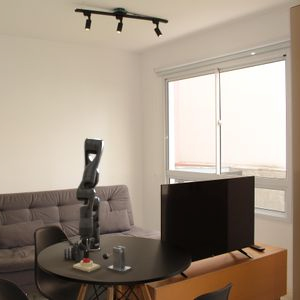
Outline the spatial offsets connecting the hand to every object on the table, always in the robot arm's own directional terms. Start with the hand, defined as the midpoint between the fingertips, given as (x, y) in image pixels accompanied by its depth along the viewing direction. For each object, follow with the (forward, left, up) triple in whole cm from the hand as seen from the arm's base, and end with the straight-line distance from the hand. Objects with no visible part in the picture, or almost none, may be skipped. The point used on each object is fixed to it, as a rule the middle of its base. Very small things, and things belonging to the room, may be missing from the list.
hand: (86, 258), depth 204 cm
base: (+14, +10, -6) cm, 18 cm away
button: (0, 0, -2) cm, 2 cm away
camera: (-17, +9, -6) cm, 20 cm away
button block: (0, 0, -6) cm, 6 cm away
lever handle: (+10, +10, 0) cm, 14 cm away
